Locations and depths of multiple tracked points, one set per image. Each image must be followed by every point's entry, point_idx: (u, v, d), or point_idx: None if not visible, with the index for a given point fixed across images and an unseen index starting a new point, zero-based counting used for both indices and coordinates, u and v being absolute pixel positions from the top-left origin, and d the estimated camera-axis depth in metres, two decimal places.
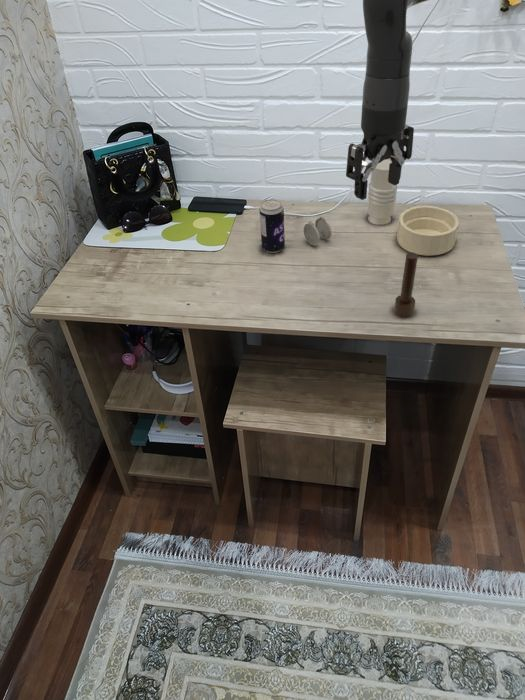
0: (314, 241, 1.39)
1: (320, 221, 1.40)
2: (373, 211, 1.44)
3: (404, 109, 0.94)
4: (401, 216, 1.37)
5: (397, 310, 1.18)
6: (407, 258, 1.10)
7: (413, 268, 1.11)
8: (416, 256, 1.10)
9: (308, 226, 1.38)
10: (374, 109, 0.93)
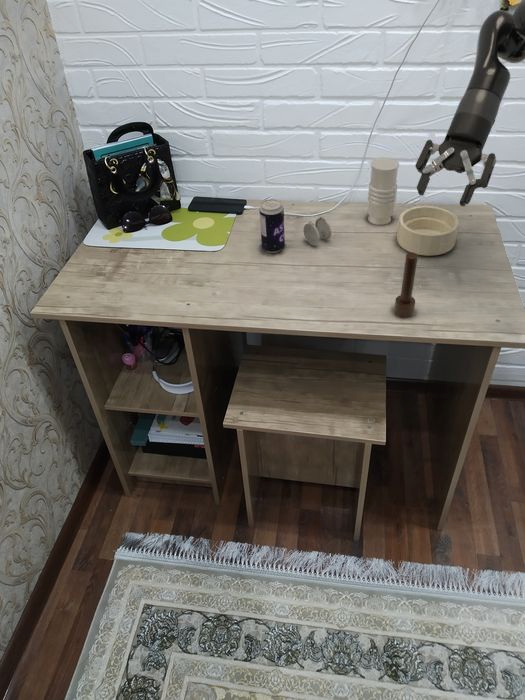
0: (314, 241, 1.39)
1: (320, 221, 1.40)
2: (373, 211, 1.44)
3: (474, 115, 1.07)
4: (401, 216, 1.37)
5: (397, 310, 1.18)
6: (407, 258, 1.10)
7: (413, 268, 1.11)
8: (416, 256, 1.10)
9: (308, 226, 1.38)
10: (454, 115, 1.11)
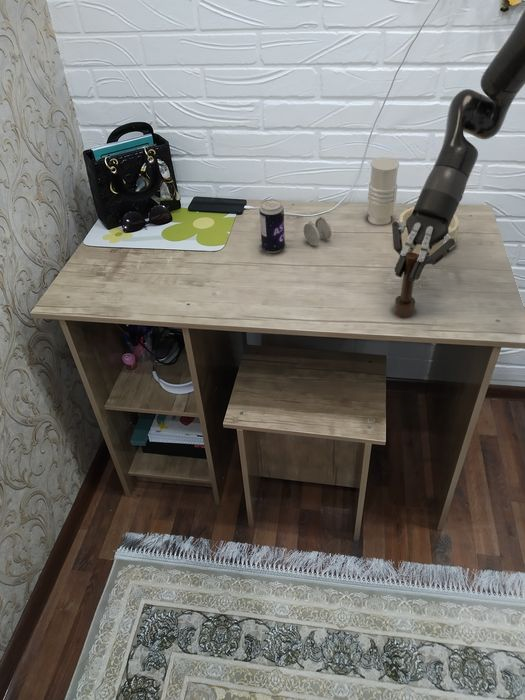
0: (314, 241, 1.39)
1: (320, 221, 1.40)
2: (373, 211, 1.44)
3: (439, 193, 1.07)
4: (401, 216, 1.37)
5: (397, 310, 1.18)
6: (407, 258, 1.10)
7: None
8: (416, 256, 1.10)
9: (308, 226, 1.38)
10: (422, 190, 1.11)
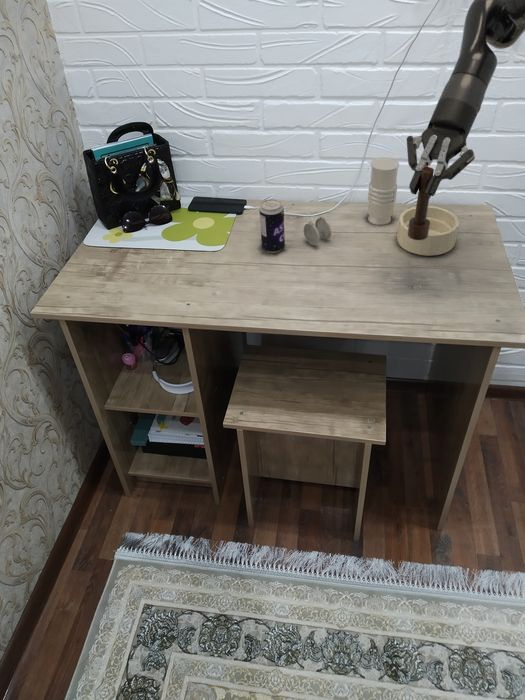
0: (314, 241, 1.39)
1: (320, 221, 1.40)
2: (373, 211, 1.44)
3: (457, 101, 1.02)
4: (401, 216, 1.37)
5: (411, 232, 1.14)
6: (423, 172, 1.05)
7: None
8: (432, 170, 1.05)
9: (308, 226, 1.38)
10: (438, 101, 1.06)
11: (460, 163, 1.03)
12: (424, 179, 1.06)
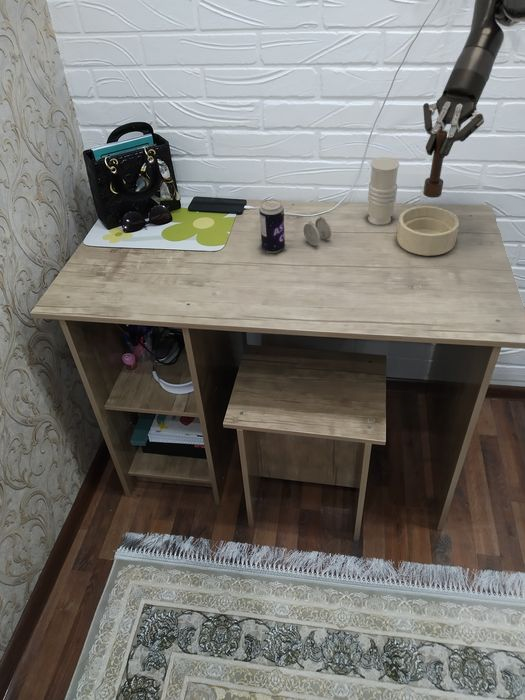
0: (314, 241, 1.39)
1: (320, 221, 1.40)
2: (373, 211, 1.44)
3: (469, 71, 1.16)
4: (401, 216, 1.37)
5: (427, 190, 1.27)
6: (438, 135, 1.19)
7: None
8: (446, 132, 1.19)
9: (308, 226, 1.38)
10: (451, 72, 1.20)
11: (471, 126, 1.17)
12: (439, 141, 1.20)
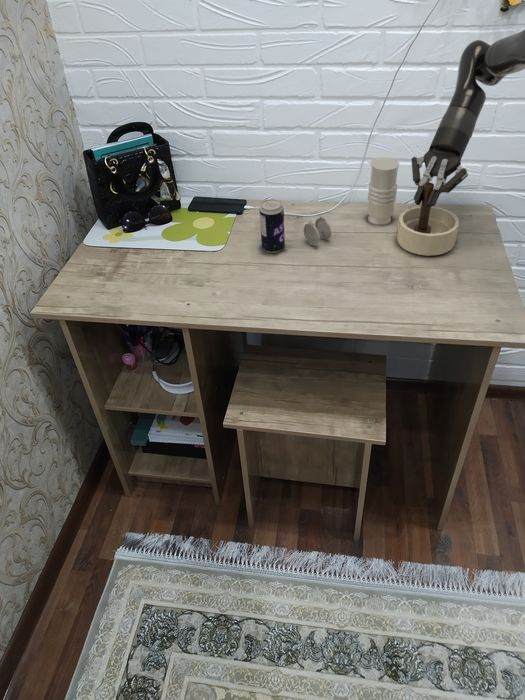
0: (314, 241, 1.39)
1: (320, 221, 1.40)
2: (373, 211, 1.44)
3: (453, 129, 1.25)
4: (401, 216, 1.37)
5: None
6: (425, 187, 1.28)
7: None
8: (433, 185, 1.28)
9: (308, 226, 1.38)
10: (437, 129, 1.29)
11: (456, 179, 1.26)
12: (426, 192, 1.28)
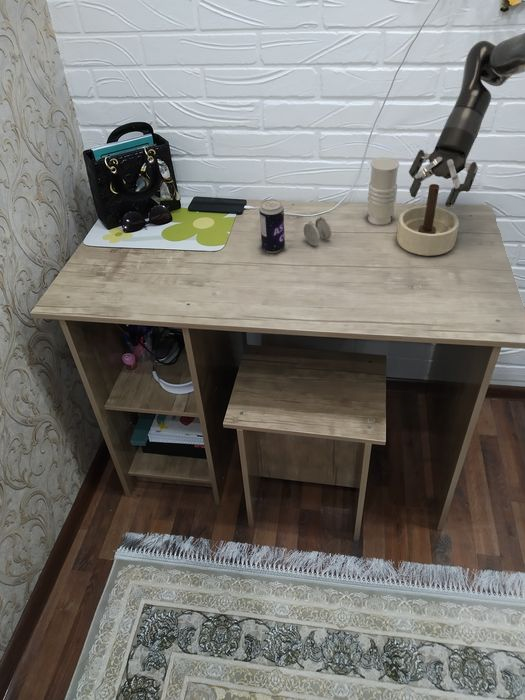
0: (314, 241, 1.39)
1: (320, 221, 1.40)
2: (373, 211, 1.44)
3: (458, 130, 1.25)
4: (401, 216, 1.37)
5: None
6: (430, 188, 1.29)
7: (435, 198, 1.30)
8: (438, 186, 1.29)
9: (308, 226, 1.38)
10: (443, 129, 1.30)
11: (471, 175, 1.25)
12: (431, 194, 1.29)
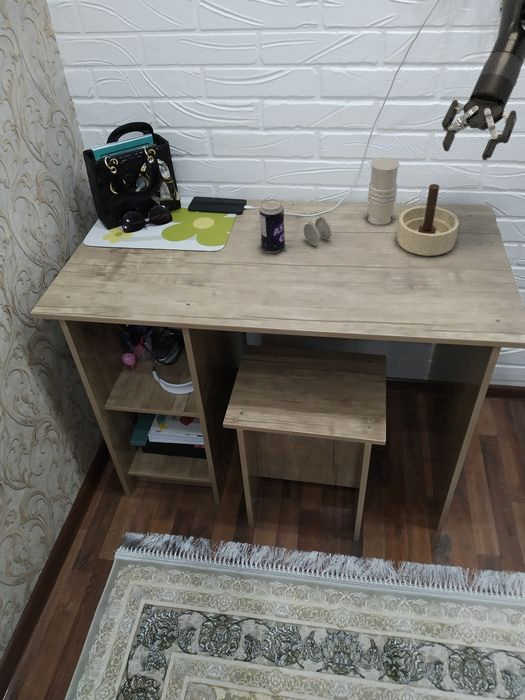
0: (314, 241, 1.39)
1: (320, 221, 1.40)
2: (373, 211, 1.44)
3: (497, 76, 1.17)
4: (401, 216, 1.37)
5: None
6: (430, 188, 1.29)
7: (435, 198, 1.30)
8: (438, 186, 1.29)
9: (308, 226, 1.38)
10: (479, 77, 1.21)
11: (510, 124, 1.17)
12: (431, 194, 1.29)
